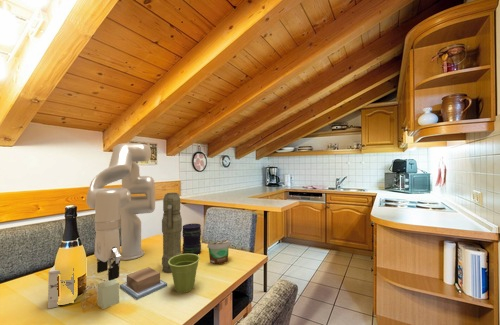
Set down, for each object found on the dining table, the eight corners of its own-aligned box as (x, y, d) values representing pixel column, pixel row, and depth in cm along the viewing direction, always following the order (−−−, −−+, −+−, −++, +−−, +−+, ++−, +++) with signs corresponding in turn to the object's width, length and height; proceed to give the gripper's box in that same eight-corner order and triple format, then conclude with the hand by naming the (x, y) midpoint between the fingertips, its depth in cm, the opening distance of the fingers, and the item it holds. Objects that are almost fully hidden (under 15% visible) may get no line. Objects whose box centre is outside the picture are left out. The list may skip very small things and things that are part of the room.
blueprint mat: (119, 287, 90) (119, 284, 90) (149, 275, 100) (149, 273, 100) (136, 299, 82) (136, 296, 82) (167, 285, 91) (167, 283, 91)
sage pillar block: (97, 304, 80) (97, 283, 80) (113, 297, 84) (113, 278, 84) (103, 309, 76) (103, 288, 77) (119, 302, 80) (119, 282, 81)
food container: (214, 268, 107) (214, 246, 107) (207, 264, 111) (207, 243, 112) (235, 260, 115) (235, 240, 115) (228, 257, 120) (227, 237, 120)
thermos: (160, 276, 100) (160, 195, 100) (163, 265, 111) (162, 192, 112) (182, 273, 102) (181, 194, 103) (182, 262, 113) (181, 191, 114)
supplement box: (47, 309, 77) (47, 271, 77) (55, 298, 84) (55, 263, 84) (74, 304, 80) (74, 267, 80) (80, 293, 87) (80, 259, 87)
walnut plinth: (126, 285, 90) (126, 275, 90) (148, 276, 97) (148, 267, 97) (137, 292, 84) (137, 281, 85) (160, 283, 92) (160, 272, 92)
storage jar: (178, 254, 125) (178, 226, 125) (192, 248, 133) (192, 222, 133) (191, 257, 119) (190, 229, 120) (204, 252, 127) (204, 224, 128)
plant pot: (164, 287, 90) (164, 258, 91) (193, 278, 97) (192, 251, 98) (174, 300, 81) (173, 268, 81) (205, 289, 88) (204, 260, 88)
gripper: (87, 224, 83) (86, 272, 82) (105, 231, 72) (105, 286, 71) (109, 220, 89) (109, 265, 88) (130, 226, 78) (130, 277, 77)
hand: (107, 275), depth 80 cm, fingers open, 9 cm apart
